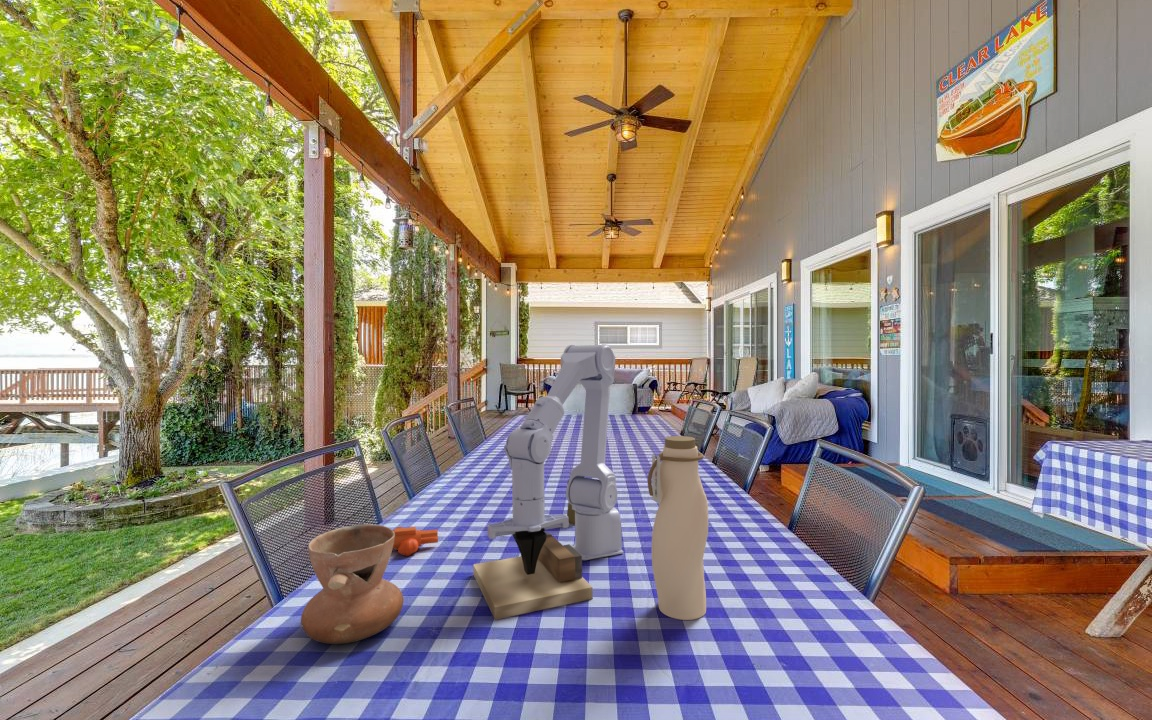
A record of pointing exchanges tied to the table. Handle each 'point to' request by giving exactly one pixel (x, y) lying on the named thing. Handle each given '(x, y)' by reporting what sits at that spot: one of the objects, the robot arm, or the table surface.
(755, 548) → the table surface
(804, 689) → the table surface
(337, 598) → the ceramic jug
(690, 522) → the water bottle
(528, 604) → the board
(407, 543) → the orange blocky toy
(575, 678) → the table surface
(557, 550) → the folding leg
